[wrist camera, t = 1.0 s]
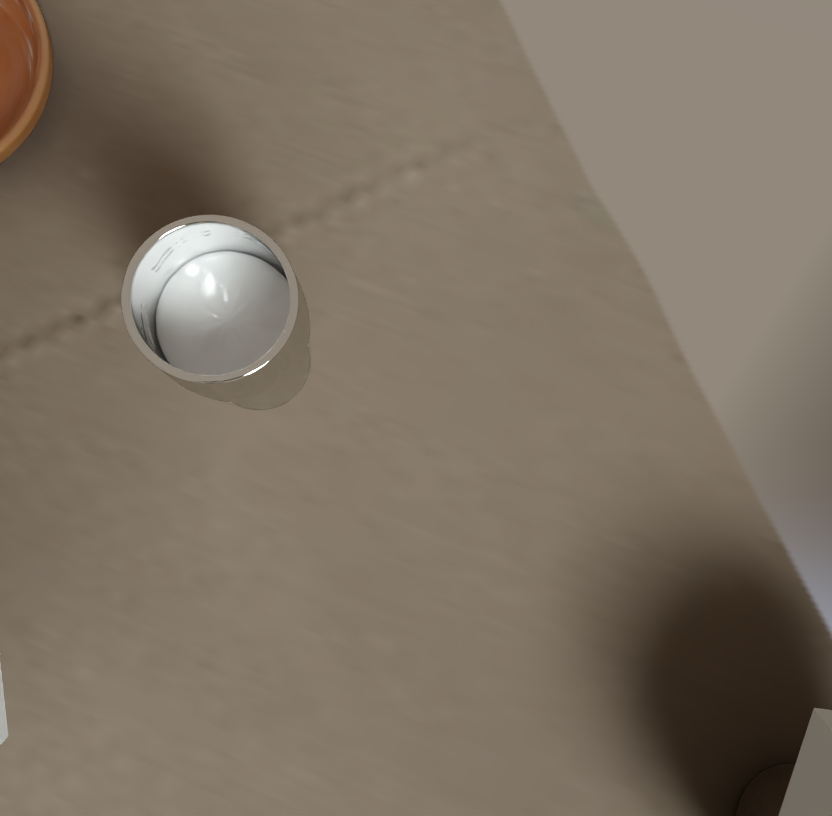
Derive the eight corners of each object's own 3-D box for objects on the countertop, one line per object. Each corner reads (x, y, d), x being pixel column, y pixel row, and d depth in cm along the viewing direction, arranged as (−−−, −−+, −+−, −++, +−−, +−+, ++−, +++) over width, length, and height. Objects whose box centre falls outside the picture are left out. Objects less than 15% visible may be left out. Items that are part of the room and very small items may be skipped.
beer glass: (243, 439, 38) (182, 425, 23) (178, 345, 38) (76, 270, 23) (340, 376, 39) (340, 323, 24) (276, 283, 39) (237, 174, 24)
